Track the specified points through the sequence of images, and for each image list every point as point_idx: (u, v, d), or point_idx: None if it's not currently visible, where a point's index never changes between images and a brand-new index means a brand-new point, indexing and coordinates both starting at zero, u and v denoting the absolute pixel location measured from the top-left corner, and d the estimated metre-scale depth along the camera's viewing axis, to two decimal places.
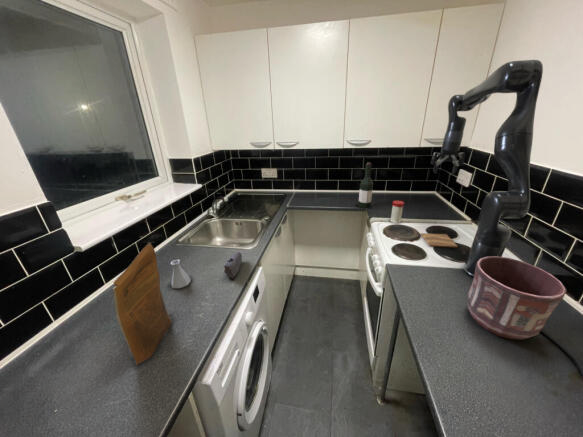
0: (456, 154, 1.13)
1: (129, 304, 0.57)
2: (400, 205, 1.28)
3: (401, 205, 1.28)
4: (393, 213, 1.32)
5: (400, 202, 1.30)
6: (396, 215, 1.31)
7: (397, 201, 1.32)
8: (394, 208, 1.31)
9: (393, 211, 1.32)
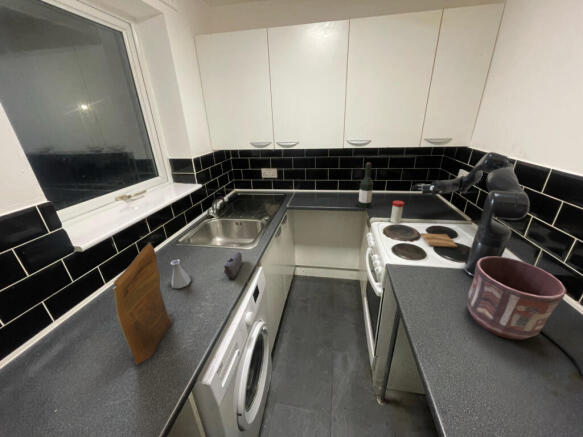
0: (436, 187, 1.29)
1: (129, 304, 0.57)
2: (400, 205, 1.28)
3: (401, 205, 1.28)
4: (393, 213, 1.32)
5: (400, 202, 1.30)
6: (396, 215, 1.31)
7: (397, 201, 1.32)
8: (394, 208, 1.31)
9: (393, 211, 1.32)
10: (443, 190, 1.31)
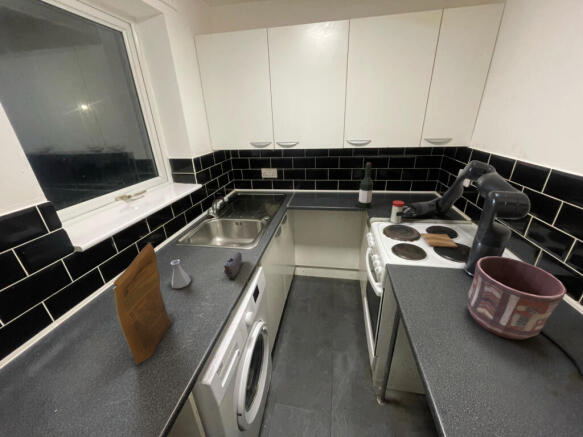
0: (412, 210, 1.32)
1: (129, 304, 0.57)
2: (400, 205, 1.28)
3: (401, 205, 1.28)
4: (393, 213, 1.32)
5: (400, 202, 1.30)
6: None
7: (397, 201, 1.32)
8: (394, 208, 1.31)
9: (393, 211, 1.32)
10: (419, 212, 1.33)
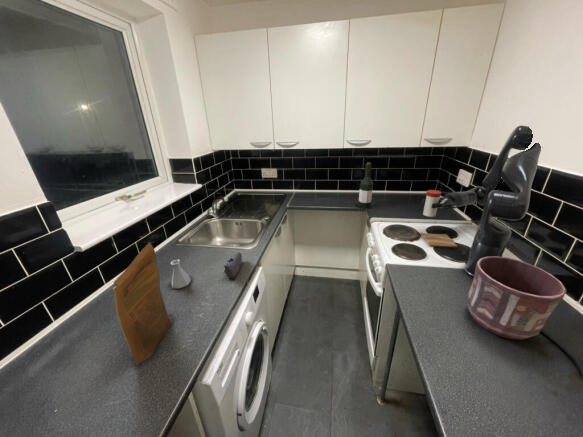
0: (450, 201, 1.11)
1: (129, 304, 0.57)
2: (437, 195, 1.08)
3: (438, 195, 1.08)
4: (427, 205, 1.11)
5: (436, 192, 1.09)
6: None
7: (432, 190, 1.11)
8: (429, 199, 1.10)
9: (427, 202, 1.11)
10: (458, 204, 1.12)
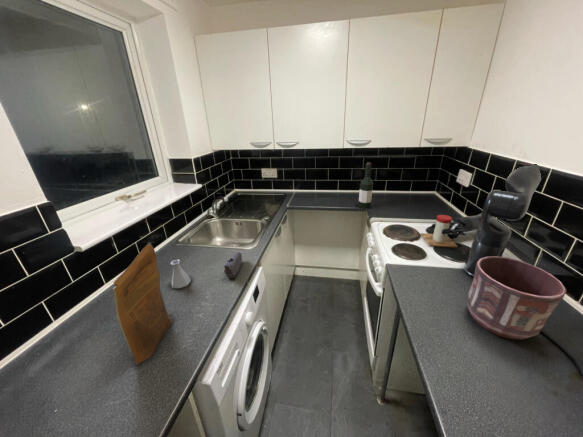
0: (460, 226, 1.09)
1: (129, 304, 0.57)
2: (447, 221, 1.06)
3: (449, 221, 1.06)
4: (437, 230, 1.10)
5: (447, 217, 1.07)
6: (441, 233, 1.09)
7: (442, 216, 1.09)
8: (439, 224, 1.08)
9: (437, 228, 1.09)
10: (469, 229, 1.10)
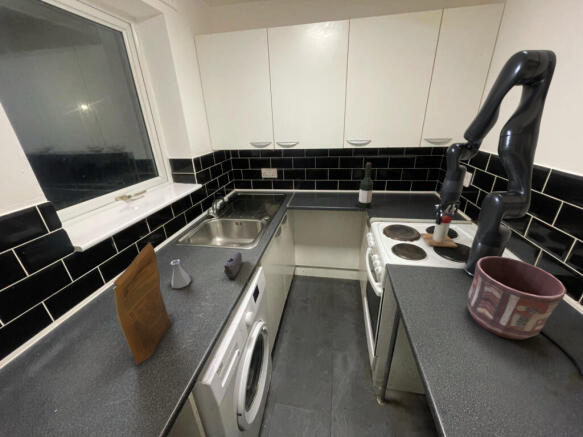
0: (454, 202, 1.05)
1: (129, 304, 0.57)
2: (447, 221, 1.06)
3: (448, 221, 1.06)
4: (437, 230, 1.10)
5: (447, 217, 1.07)
6: (441, 233, 1.09)
7: None
8: None
9: (437, 228, 1.09)
10: None
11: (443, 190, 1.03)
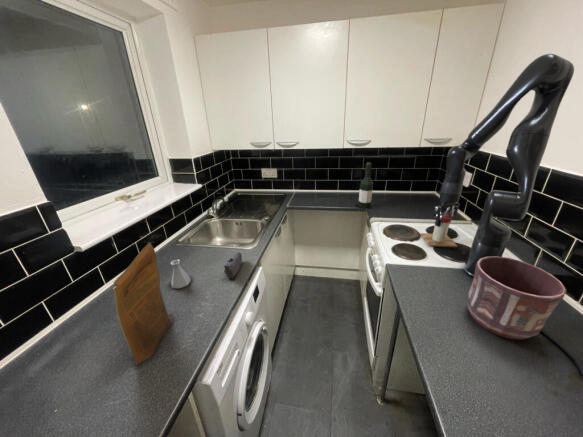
0: None
1: (129, 304, 0.57)
2: None
3: None
4: (438, 230, 1.09)
5: None
6: (441, 233, 1.09)
7: (446, 217, 1.07)
8: None
9: (438, 228, 1.09)
10: (445, 196, 1.02)
11: None
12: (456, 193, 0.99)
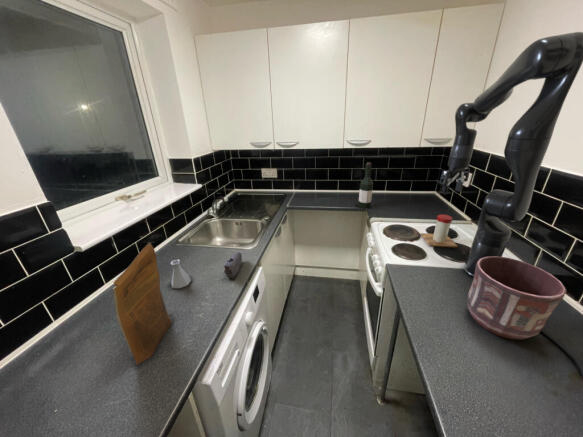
0: None
1: (129, 304, 0.57)
2: None
3: None
4: (438, 231, 1.09)
5: (442, 216, 1.09)
6: (442, 233, 1.09)
7: (446, 218, 1.07)
8: (440, 225, 1.08)
9: (439, 228, 1.09)
10: (455, 160, 0.95)
11: None
12: (466, 156, 0.93)
